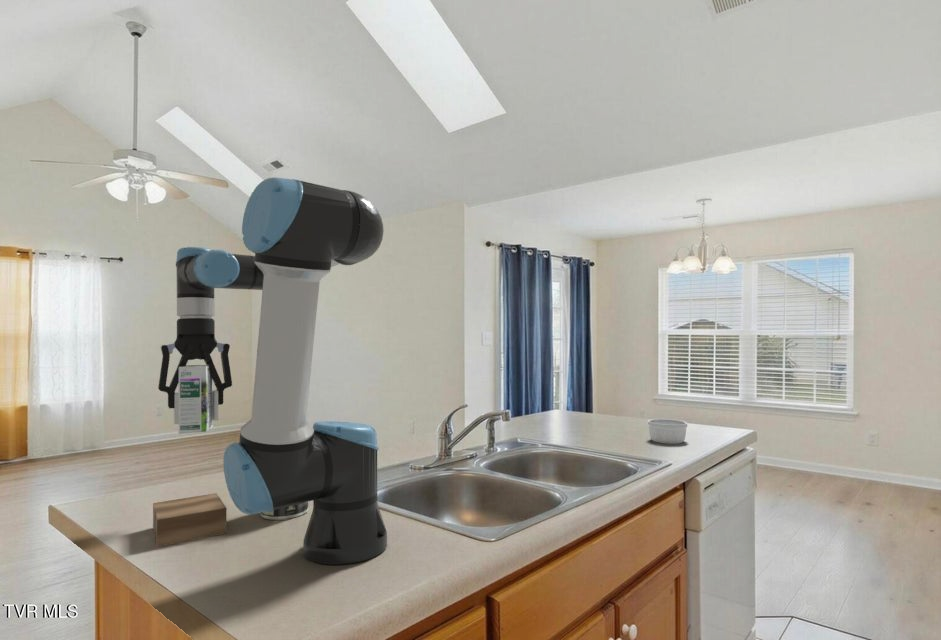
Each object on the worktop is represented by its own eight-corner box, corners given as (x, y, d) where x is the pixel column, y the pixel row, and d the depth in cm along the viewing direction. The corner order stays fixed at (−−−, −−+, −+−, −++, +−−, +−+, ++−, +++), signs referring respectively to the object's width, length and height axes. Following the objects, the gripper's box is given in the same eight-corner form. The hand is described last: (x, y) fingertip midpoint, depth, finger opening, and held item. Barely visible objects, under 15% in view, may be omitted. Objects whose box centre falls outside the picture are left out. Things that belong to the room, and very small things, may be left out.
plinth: (226, 532, 108) (226, 507, 109) (157, 546, 102) (157, 519, 102) (216, 516, 118) (216, 493, 119) (153, 527, 112) (153, 503, 112)
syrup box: (177, 433, 116) (177, 366, 117) (186, 429, 122) (186, 364, 123) (206, 432, 118) (206, 365, 118) (213, 427, 123) (213, 364, 124)
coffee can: (317, 506, 125) (316, 444, 125) (293, 521, 115) (293, 454, 115) (276, 503, 127) (276, 443, 127) (250, 518, 117) (250, 453, 117)
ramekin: (685, 438, 199) (685, 419, 199) (689, 445, 186) (689, 425, 186) (647, 436, 202) (647, 417, 202) (648, 443, 190) (648, 423, 190)
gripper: (240, 318, 129) (241, 415, 128) (142, 318, 118) (142, 424, 118) (247, 317, 123) (247, 418, 122) (144, 317, 112) (144, 428, 111)
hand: (196, 421), depth 120 cm, fingers closed on syrup box, 7 cm apart
